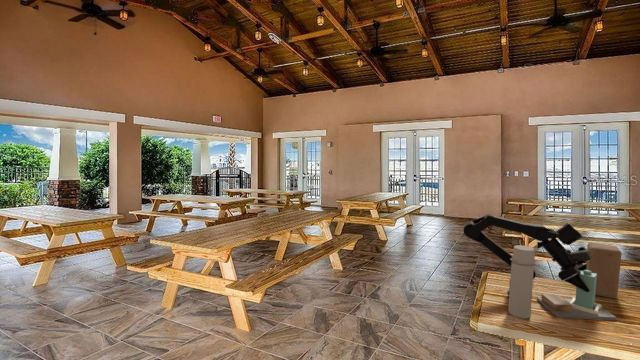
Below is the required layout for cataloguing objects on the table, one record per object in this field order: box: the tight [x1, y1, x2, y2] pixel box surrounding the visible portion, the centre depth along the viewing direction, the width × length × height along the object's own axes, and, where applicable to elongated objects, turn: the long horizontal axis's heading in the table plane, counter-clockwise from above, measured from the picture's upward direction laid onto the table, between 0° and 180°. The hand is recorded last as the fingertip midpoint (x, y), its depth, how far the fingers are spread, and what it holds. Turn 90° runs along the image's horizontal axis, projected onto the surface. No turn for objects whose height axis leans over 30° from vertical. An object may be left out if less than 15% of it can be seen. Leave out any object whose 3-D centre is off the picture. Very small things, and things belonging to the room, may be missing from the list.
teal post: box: [575, 270, 597, 310], centre depth 128 cm, size 5×5×14 cm
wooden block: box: [585, 242, 623, 299], centre depth 144 cm, size 10×10×20 cm
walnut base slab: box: [541, 293, 572, 312], centre depth 130 cm, size 6×9×2 cm, turn 174°
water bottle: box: [507, 245, 537, 320], centre depth 125 cm, size 9×8×25 cm
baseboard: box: [536, 296, 617, 322], centre depth 129 cm, size 20×14×2 cm
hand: (591, 288), depth 127 cm, fingers open, 9 cm apart
